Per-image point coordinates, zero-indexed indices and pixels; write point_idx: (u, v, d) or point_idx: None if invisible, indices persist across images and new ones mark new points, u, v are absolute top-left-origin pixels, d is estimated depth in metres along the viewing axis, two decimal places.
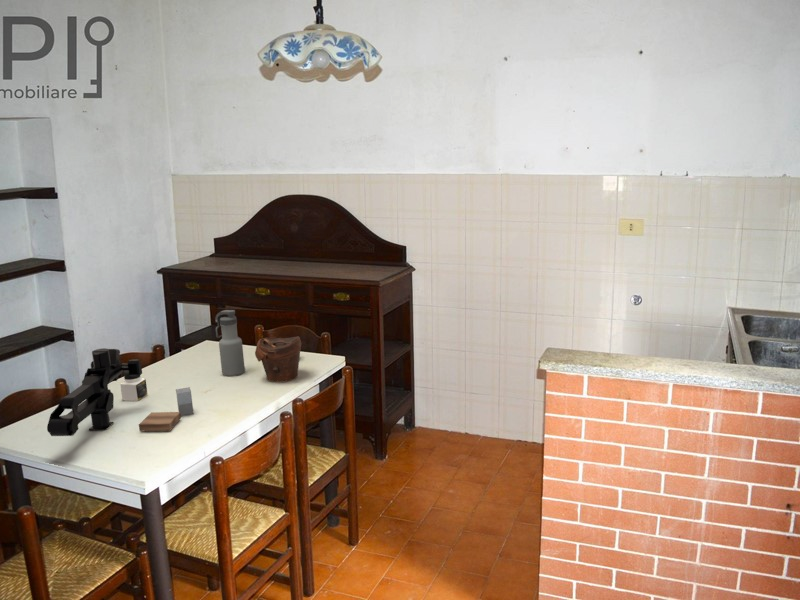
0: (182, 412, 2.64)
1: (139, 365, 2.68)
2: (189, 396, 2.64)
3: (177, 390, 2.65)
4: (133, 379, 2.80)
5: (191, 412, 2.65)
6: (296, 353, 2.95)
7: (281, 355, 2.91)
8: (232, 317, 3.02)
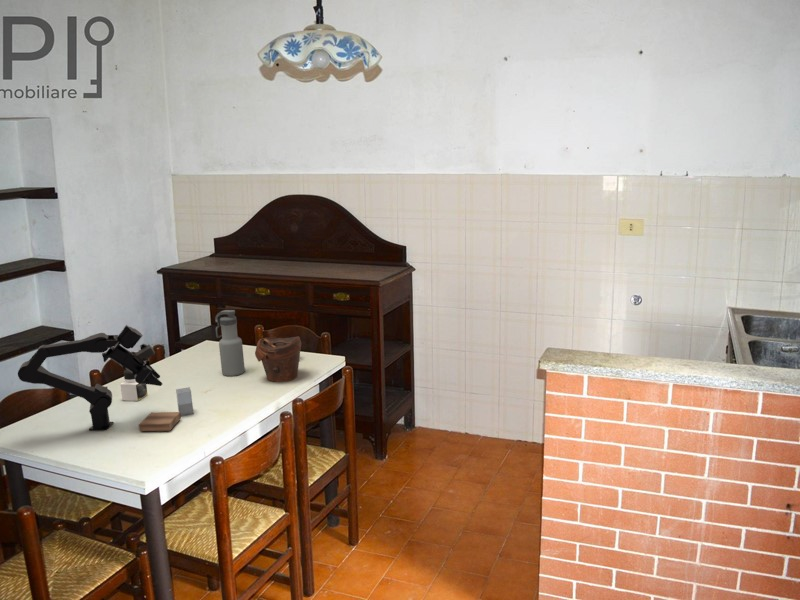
0: (182, 412, 2.64)
1: (144, 373, 2.49)
2: (189, 396, 2.64)
3: (177, 390, 2.65)
4: (133, 379, 2.80)
5: (191, 412, 2.65)
6: (296, 353, 2.95)
7: (281, 355, 2.91)
8: (232, 317, 3.02)
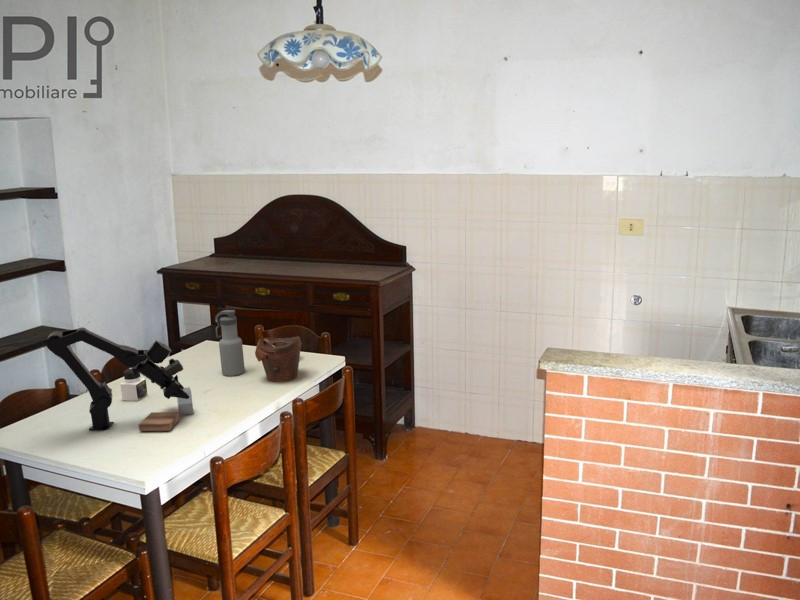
0: (182, 412, 2.64)
1: (172, 388, 2.54)
2: (189, 396, 2.64)
3: None
4: (133, 379, 2.80)
5: (191, 412, 2.65)
6: (296, 353, 2.95)
7: (281, 355, 2.91)
8: (232, 317, 3.02)
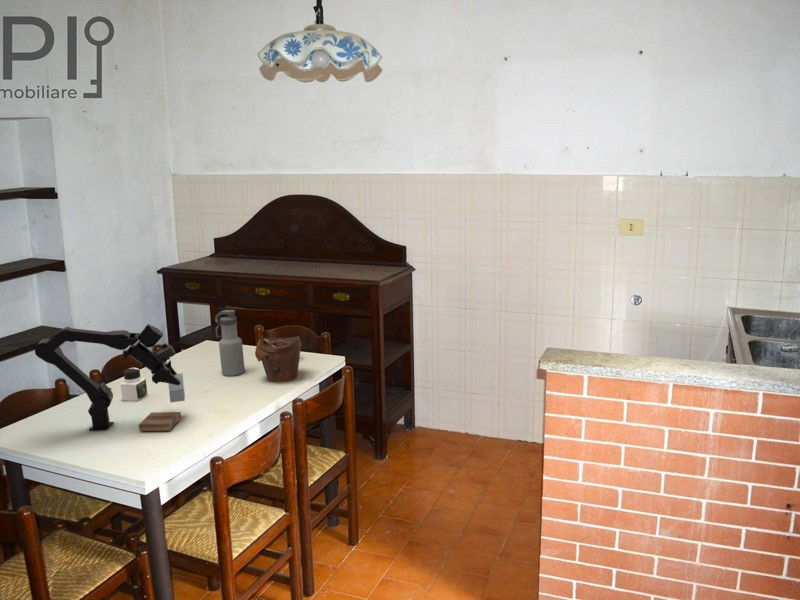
0: (173, 398, 2.59)
1: (160, 373, 2.49)
2: (180, 382, 2.58)
3: None
4: (133, 379, 2.80)
5: (182, 399, 2.60)
6: (296, 353, 2.95)
7: (281, 355, 2.91)
8: (232, 317, 3.02)
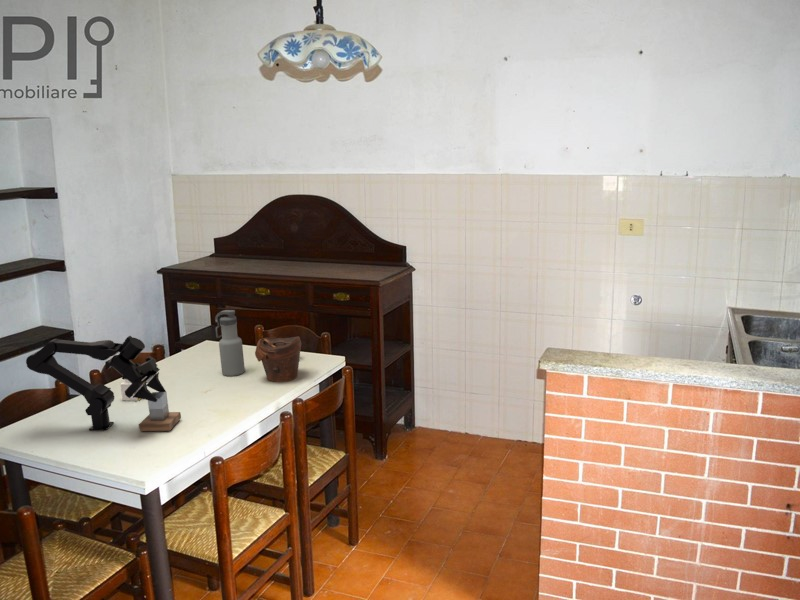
0: (153, 417, 2.52)
1: (132, 388, 2.43)
2: (159, 402, 2.51)
3: (152, 393, 2.54)
4: None
5: (161, 418, 2.52)
6: (296, 353, 2.95)
7: (281, 355, 2.91)
8: (232, 317, 3.02)
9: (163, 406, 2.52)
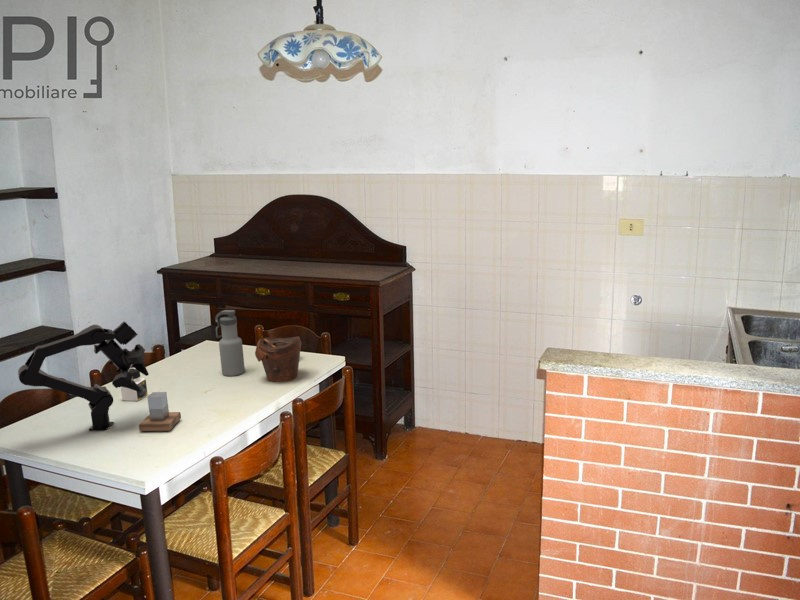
0: (153, 417, 2.52)
1: (121, 381, 2.50)
2: (159, 402, 2.51)
3: (152, 393, 2.54)
4: (133, 379, 2.80)
5: (161, 418, 2.52)
6: (296, 353, 2.95)
7: (281, 355, 2.91)
8: (232, 317, 3.02)
9: (163, 406, 2.52)
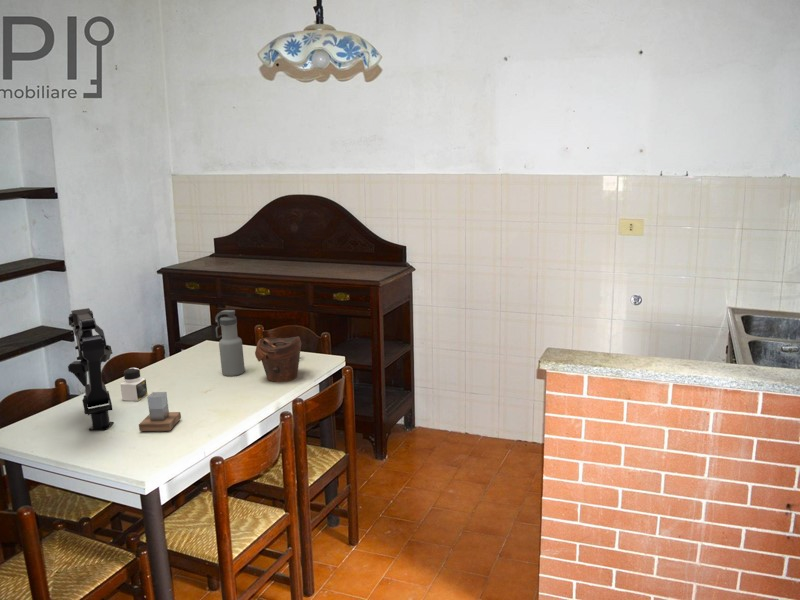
0: (153, 417, 2.52)
1: (78, 367, 2.55)
2: (159, 402, 2.51)
3: (152, 393, 2.54)
4: (133, 379, 2.80)
5: (161, 418, 2.52)
6: (296, 353, 2.95)
7: (281, 355, 2.91)
8: (232, 317, 3.02)
9: (163, 406, 2.52)
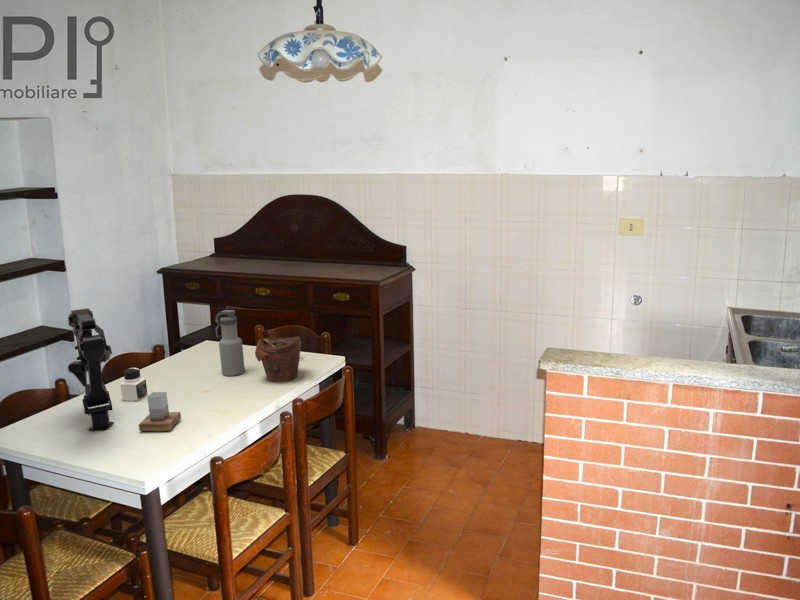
0: (153, 417, 2.52)
1: (78, 367, 2.55)
2: (159, 402, 2.51)
3: (152, 393, 2.54)
4: (133, 379, 2.80)
5: (161, 418, 2.52)
6: (296, 353, 2.95)
7: (281, 355, 2.91)
8: (232, 317, 3.02)
9: (163, 406, 2.52)
